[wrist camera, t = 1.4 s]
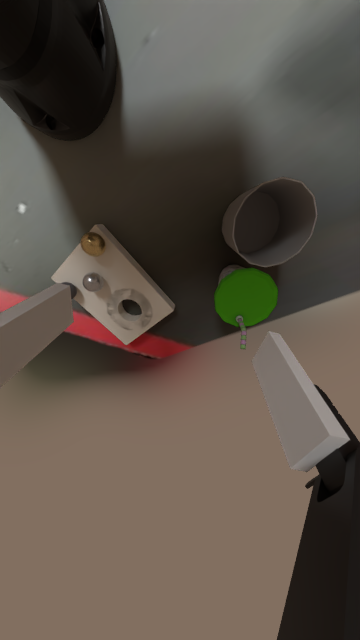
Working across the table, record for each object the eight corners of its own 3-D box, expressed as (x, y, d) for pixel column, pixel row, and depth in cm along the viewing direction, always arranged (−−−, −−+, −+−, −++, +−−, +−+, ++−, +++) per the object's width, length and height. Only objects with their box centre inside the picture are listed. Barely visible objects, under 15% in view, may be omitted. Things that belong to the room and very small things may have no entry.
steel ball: (84, 278, 32) (74, 283, 29) (96, 266, 31) (86, 270, 28) (99, 291, 33) (90, 298, 30) (110, 280, 32) (102, 286, 29)
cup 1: (284, 238, 29) (322, 246, 20) (232, 261, 31) (246, 278, 22) (270, 177, 26) (308, 157, 17) (213, 209, 28) (221, 205, 19)
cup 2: (233, 243, 30) (261, 263, 17) (265, 275, 32) (313, 315, 19) (200, 279, 33) (201, 320, 20) (231, 306, 35) (251, 359, 22)
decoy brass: (83, 241, 29) (70, 244, 26) (96, 226, 28) (84, 227, 25) (100, 259, 30) (90, 263, 27) (114, 244, 29) (104, 248, 26)
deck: (60, 274, 35) (50, 278, 33) (102, 223, 30) (95, 224, 28) (130, 338, 41) (126, 345, 38) (175, 304, 36) (173, 310, 34)
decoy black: (60, 286, 33) (48, 292, 31) (69, 276, 32) (58, 281, 30) (74, 299, 34) (64, 305, 32) (83, 289, 33) (73, 295, 30)
